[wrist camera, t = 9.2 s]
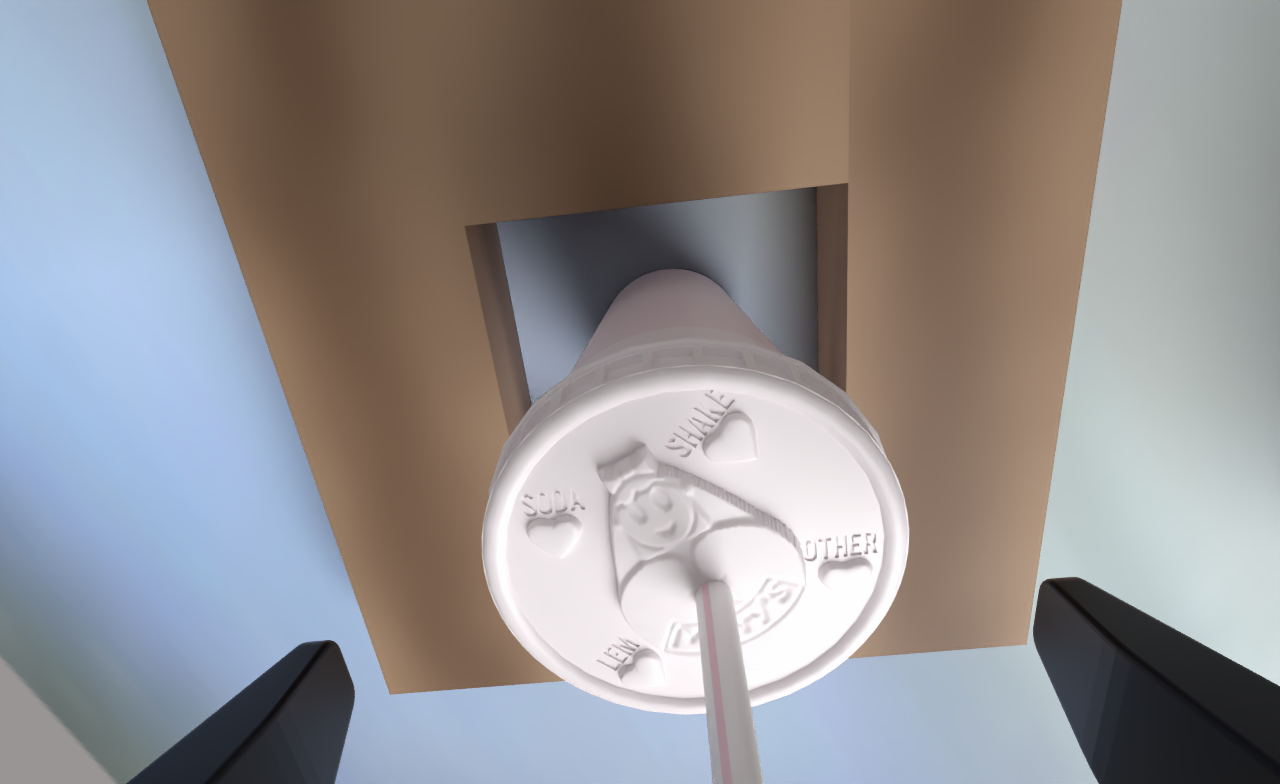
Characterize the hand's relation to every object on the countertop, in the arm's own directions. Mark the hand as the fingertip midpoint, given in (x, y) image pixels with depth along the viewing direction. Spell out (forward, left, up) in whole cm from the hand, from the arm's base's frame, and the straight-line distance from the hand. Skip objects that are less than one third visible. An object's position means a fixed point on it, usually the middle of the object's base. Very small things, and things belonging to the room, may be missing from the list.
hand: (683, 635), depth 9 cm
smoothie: (0, 0, -11) cm, 11 cm away
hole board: (0, 0, -11) cm, 11 cm away
